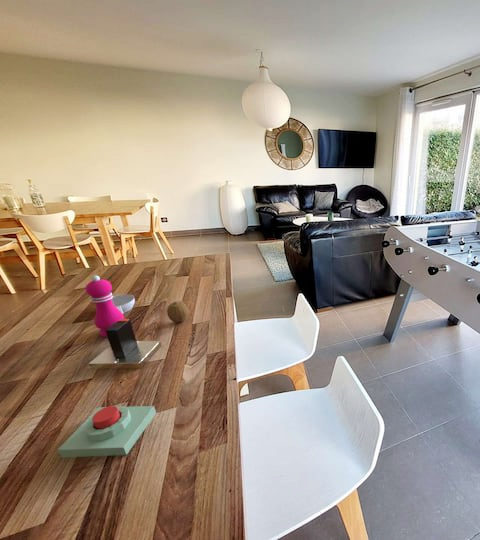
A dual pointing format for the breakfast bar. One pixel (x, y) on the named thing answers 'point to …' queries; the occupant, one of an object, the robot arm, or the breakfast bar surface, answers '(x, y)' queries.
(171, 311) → the fruit
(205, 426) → the breakfast bar surface
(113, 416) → the button
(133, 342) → the black rectangular block
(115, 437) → the block
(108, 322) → the pepper mill
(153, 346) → the shiny metal plate
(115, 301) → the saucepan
